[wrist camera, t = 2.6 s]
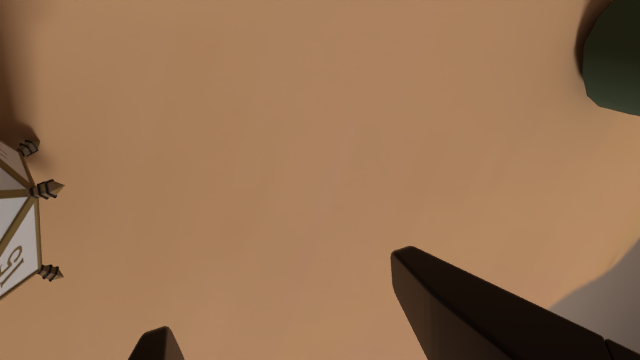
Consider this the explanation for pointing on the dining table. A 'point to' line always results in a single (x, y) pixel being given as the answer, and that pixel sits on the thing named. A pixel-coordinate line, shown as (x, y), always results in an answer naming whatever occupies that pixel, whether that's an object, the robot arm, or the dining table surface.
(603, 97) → the character mug
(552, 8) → the dining table surface
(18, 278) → the game die
